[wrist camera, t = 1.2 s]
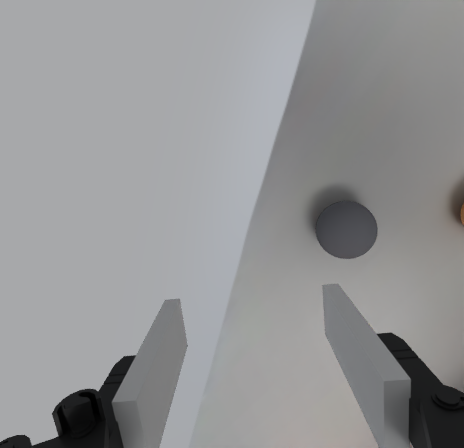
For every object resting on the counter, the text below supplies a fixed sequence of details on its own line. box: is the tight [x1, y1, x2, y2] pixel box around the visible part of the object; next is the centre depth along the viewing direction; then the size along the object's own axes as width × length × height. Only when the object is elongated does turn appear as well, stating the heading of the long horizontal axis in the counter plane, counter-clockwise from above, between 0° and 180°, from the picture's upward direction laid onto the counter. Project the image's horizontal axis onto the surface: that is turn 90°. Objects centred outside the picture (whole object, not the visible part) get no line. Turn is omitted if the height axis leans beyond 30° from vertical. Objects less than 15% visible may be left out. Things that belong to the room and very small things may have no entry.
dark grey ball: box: [316, 201, 377, 259], centre depth 29 cm, size 6×6×6 cm
